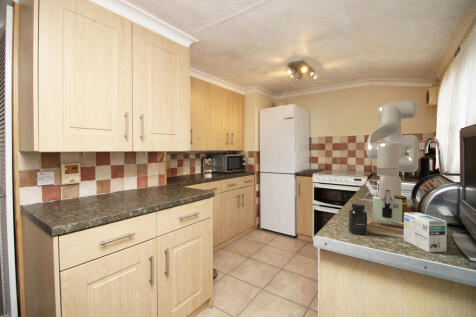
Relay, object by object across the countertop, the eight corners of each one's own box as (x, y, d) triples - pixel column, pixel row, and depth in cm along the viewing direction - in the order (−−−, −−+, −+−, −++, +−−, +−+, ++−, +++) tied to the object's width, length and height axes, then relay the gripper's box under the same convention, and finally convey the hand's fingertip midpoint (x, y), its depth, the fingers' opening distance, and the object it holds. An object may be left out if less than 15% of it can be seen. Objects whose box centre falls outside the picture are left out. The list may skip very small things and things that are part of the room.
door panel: (372, 217, 96) (372, 196, 96) (401, 220, 91) (401, 199, 91) (372, 219, 93) (372, 198, 93) (401, 223, 88) (402, 200, 88)
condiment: (410, 221, 107) (411, 196, 106) (403, 224, 102) (403, 198, 101) (393, 217, 113) (394, 194, 112) (385, 220, 108) (386, 196, 108)
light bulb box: (447, 252, 74) (448, 220, 74) (428, 253, 74) (429, 221, 74) (418, 239, 85) (419, 211, 85) (402, 240, 85) (403, 212, 84)
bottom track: (367, 226, 99) (367, 220, 99) (406, 232, 92) (406, 225, 92) (366, 231, 93) (366, 224, 93) (408, 238, 86) (408, 231, 86)
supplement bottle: (360, 236, 88) (360, 206, 88) (344, 231, 94) (345, 203, 94) (370, 233, 91) (371, 204, 91) (355, 228, 97) (355, 201, 97)
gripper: (376, 170, 100) (376, 210, 101) (377, 173, 86) (376, 220, 87) (397, 171, 96) (396, 212, 97) (400, 174, 83) (399, 223, 83)
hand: (386, 215), depth 92 cm, fingers closed on door panel, 3 cm apart
